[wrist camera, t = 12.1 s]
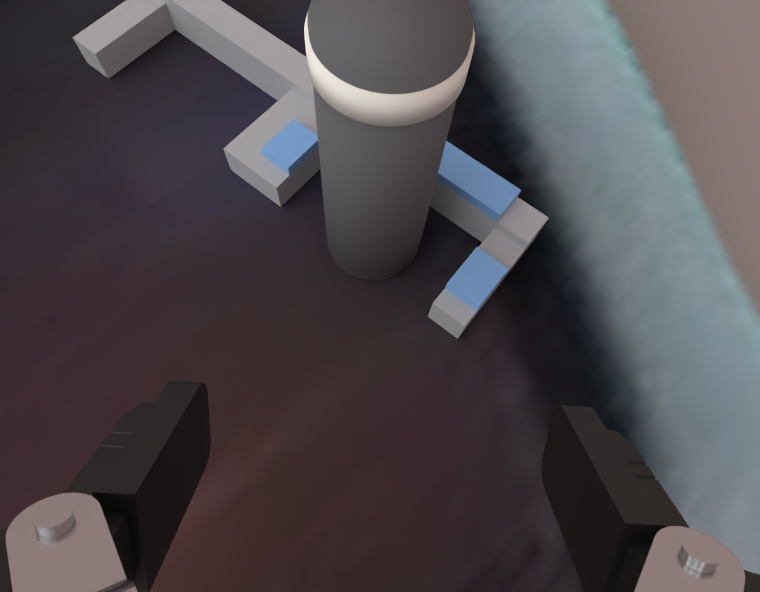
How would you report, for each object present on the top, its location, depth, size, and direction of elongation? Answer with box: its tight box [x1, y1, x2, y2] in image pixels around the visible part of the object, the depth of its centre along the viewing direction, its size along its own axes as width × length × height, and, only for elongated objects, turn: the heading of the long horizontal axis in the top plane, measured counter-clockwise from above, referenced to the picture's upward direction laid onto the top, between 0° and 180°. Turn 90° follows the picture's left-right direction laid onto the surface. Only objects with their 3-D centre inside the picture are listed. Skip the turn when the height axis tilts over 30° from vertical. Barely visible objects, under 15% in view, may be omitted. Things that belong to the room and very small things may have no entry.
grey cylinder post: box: [304, 0, 475, 281], centre depth 18 cm, size 4×4×11 cm
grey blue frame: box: [73, 0, 548, 339], centre depth 23 cm, size 22×6×2 cm, turn 52°
